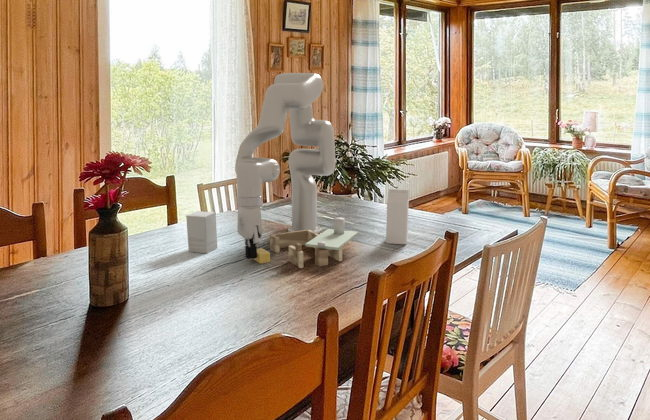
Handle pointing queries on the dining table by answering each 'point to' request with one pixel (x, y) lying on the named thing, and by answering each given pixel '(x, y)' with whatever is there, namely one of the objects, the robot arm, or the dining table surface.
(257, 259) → the yellow rectangular block
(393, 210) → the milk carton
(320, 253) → the beige notched ring
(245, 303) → the dining table surface
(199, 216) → the supplement box
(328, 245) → the cover
